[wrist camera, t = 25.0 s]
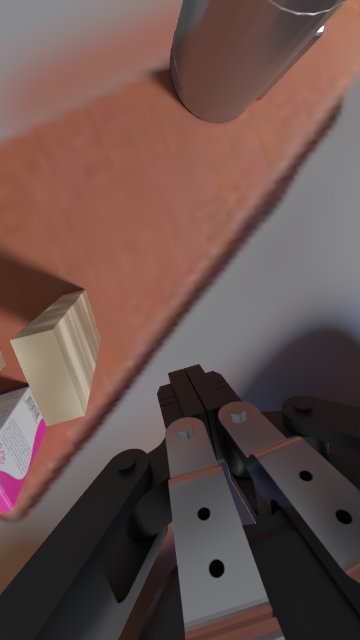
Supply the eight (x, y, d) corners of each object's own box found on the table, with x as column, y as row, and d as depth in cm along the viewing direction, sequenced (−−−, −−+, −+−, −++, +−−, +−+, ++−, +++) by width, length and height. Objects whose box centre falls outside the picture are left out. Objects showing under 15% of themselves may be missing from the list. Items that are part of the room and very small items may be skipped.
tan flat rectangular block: (85, 289, 30) (53, 329, 16) (100, 339, 32) (84, 415, 18) (62, 294, 30) (9, 340, 16) (80, 344, 32) (46, 426, 17)
